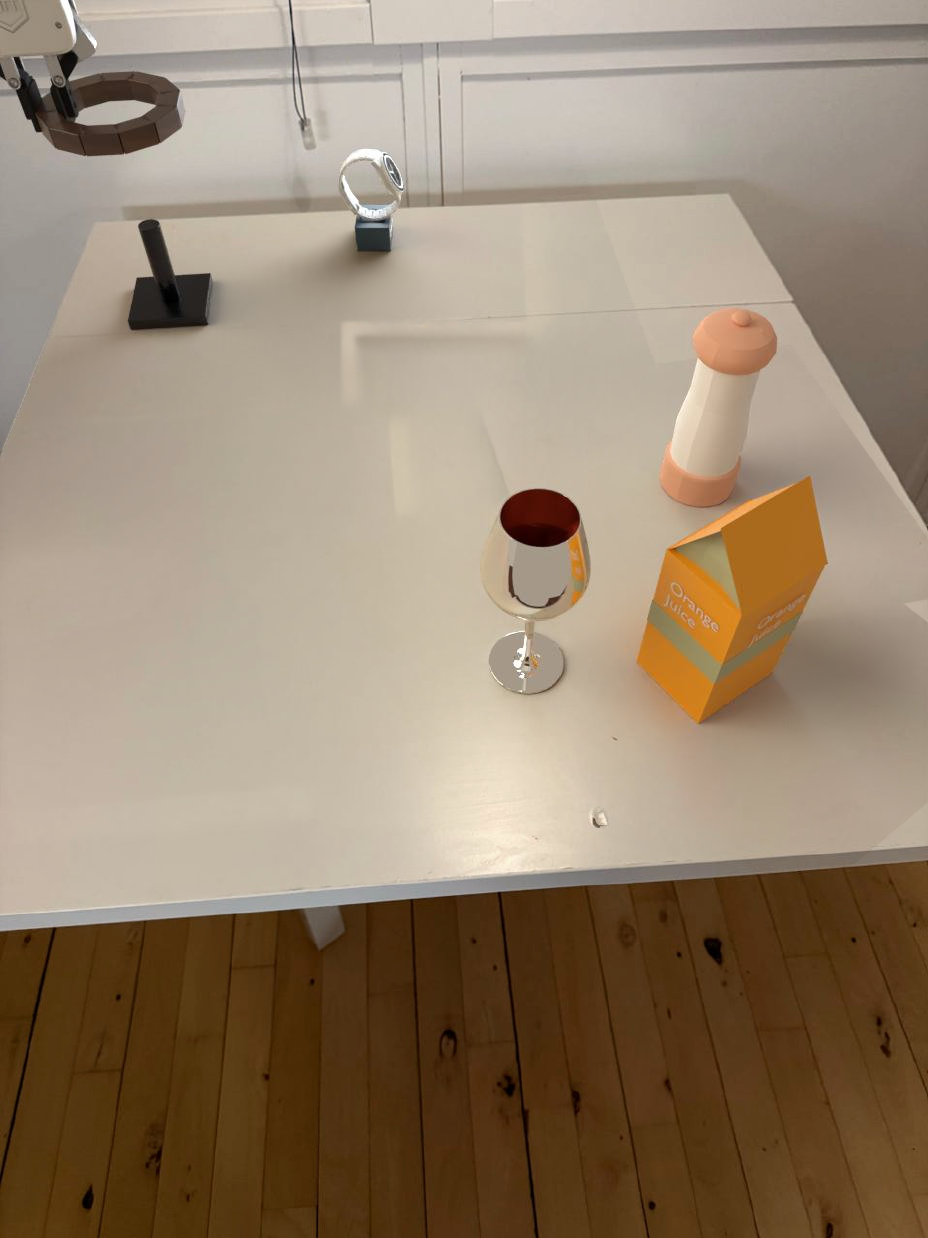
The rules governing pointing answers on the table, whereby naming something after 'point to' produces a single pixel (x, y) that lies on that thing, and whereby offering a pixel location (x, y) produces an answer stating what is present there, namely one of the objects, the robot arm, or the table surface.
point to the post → (167, 289)
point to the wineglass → (534, 582)
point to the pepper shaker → (717, 407)
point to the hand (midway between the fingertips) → (56, 123)
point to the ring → (120, 135)
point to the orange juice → (733, 599)
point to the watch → (373, 219)
